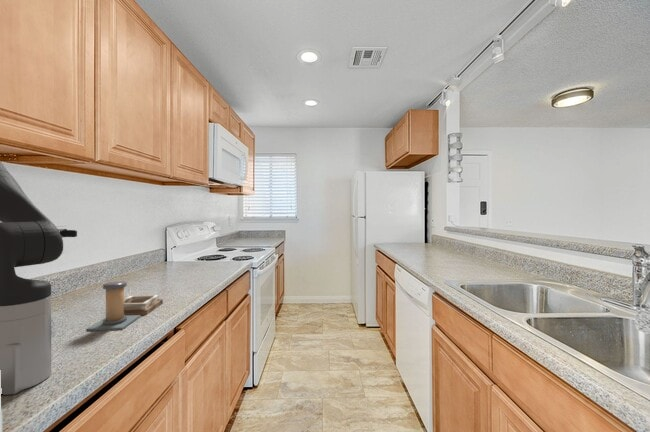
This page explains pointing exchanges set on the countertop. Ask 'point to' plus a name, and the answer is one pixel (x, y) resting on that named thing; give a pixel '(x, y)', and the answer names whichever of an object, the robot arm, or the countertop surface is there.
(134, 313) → the square wooden tray
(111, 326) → the slate mat
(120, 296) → the cable spool
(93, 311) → the countertop surface
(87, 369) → the countertop surface
